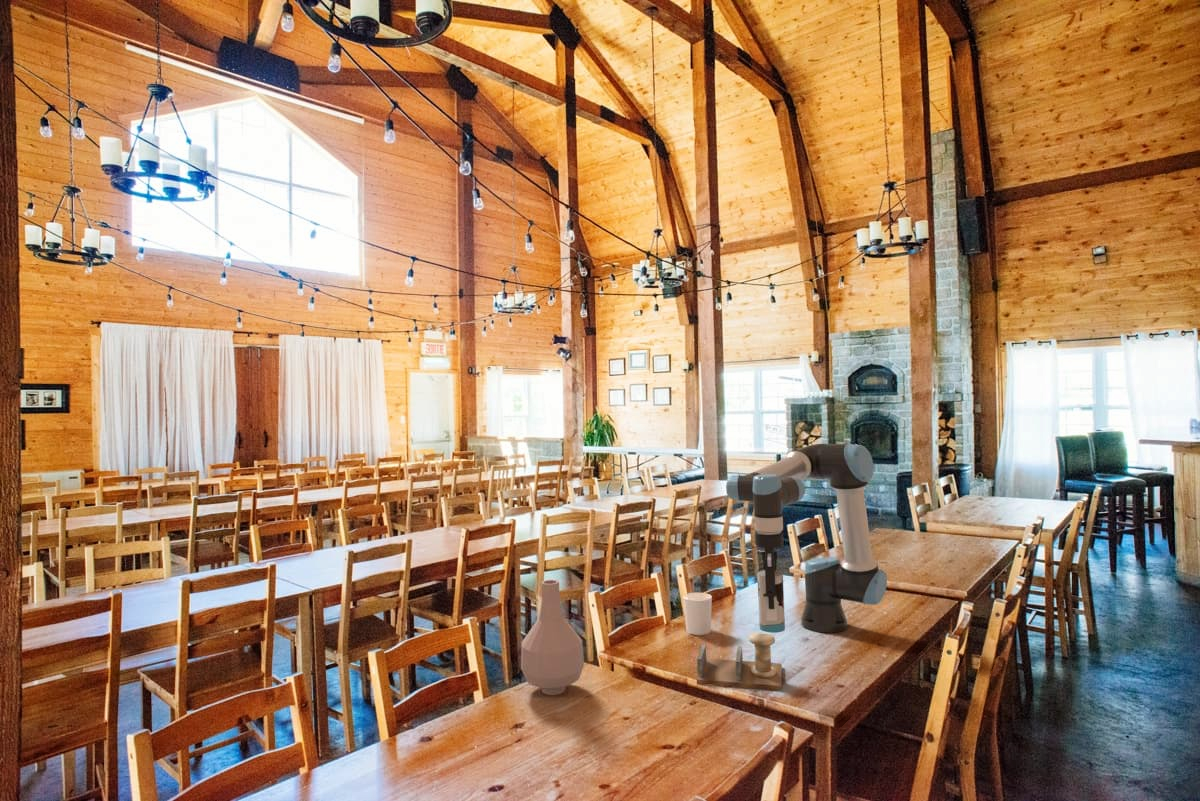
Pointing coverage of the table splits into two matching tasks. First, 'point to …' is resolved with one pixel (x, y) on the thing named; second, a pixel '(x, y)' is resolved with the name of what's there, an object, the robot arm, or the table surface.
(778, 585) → the cup
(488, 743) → the table surface
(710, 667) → the winding board
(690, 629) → the candle holder
